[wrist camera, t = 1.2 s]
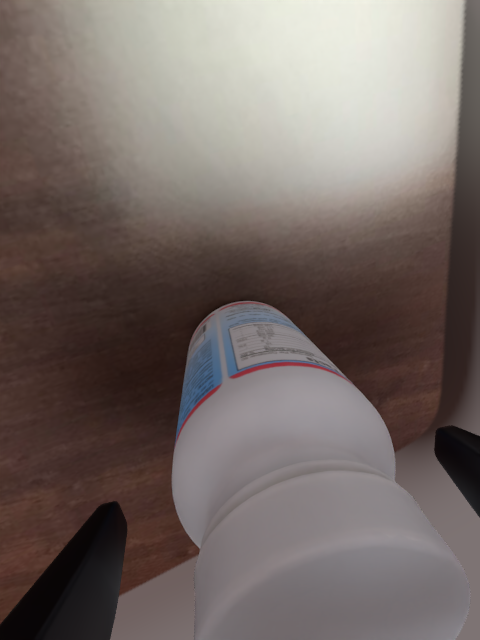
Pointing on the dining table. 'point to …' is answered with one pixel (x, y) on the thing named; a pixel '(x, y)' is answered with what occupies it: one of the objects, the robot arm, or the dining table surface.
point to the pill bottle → (299, 497)
